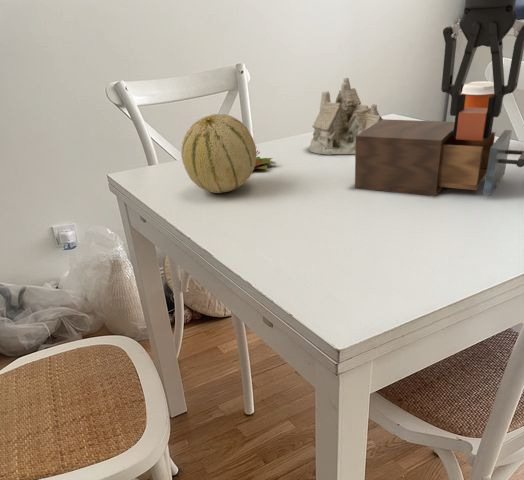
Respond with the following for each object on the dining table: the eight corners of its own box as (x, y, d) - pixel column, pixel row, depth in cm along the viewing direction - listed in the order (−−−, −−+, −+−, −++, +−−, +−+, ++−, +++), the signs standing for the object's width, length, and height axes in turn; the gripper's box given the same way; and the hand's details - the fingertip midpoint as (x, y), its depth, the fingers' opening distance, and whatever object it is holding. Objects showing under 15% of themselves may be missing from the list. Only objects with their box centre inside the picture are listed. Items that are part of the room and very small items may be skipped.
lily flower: (273, 174, 117) (271, 152, 115) (219, 176, 119) (217, 154, 117) (281, 159, 127) (279, 138, 124) (231, 160, 129) (229, 140, 126)
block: (487, 134, 97) (491, 107, 94) (481, 141, 94) (486, 113, 91) (461, 133, 99) (465, 107, 96) (455, 139, 96) (458, 112, 93)
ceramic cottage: (301, 147, 133) (303, 80, 124) (356, 138, 139) (362, 73, 130) (336, 165, 122) (340, 93, 113) (394, 154, 128) (403, 84, 119)
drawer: (528, 175, 101) (537, 131, 96) (516, 197, 92) (525, 149, 88) (427, 167, 109) (431, 126, 105) (408, 187, 101) (411, 143, 96)
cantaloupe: (258, 177, 117) (252, 102, 108) (259, 199, 104) (252, 117, 96) (191, 182, 117) (179, 108, 109) (184, 205, 105) (170, 124, 96)
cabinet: (455, 173, 108) (461, 122, 102) (435, 196, 98) (441, 140, 93) (379, 167, 115) (381, 119, 109) (354, 188, 105) (355, 135, 100)
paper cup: (445, 156, 118) (453, 86, 110) (464, 148, 122) (473, 80, 114) (478, 161, 113) (489, 88, 105) (497, 152, 117) (508, 82, 109)
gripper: (429, -17, 84) (416, 138, 98) (552, -27, 76) (521, 143, 90) (442, -19, 90) (429, 128, 103) (559, -29, 82) (528, 133, 95)
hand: (471, 135), depth 96 cm, fingers closed on block, 4 cm apart
